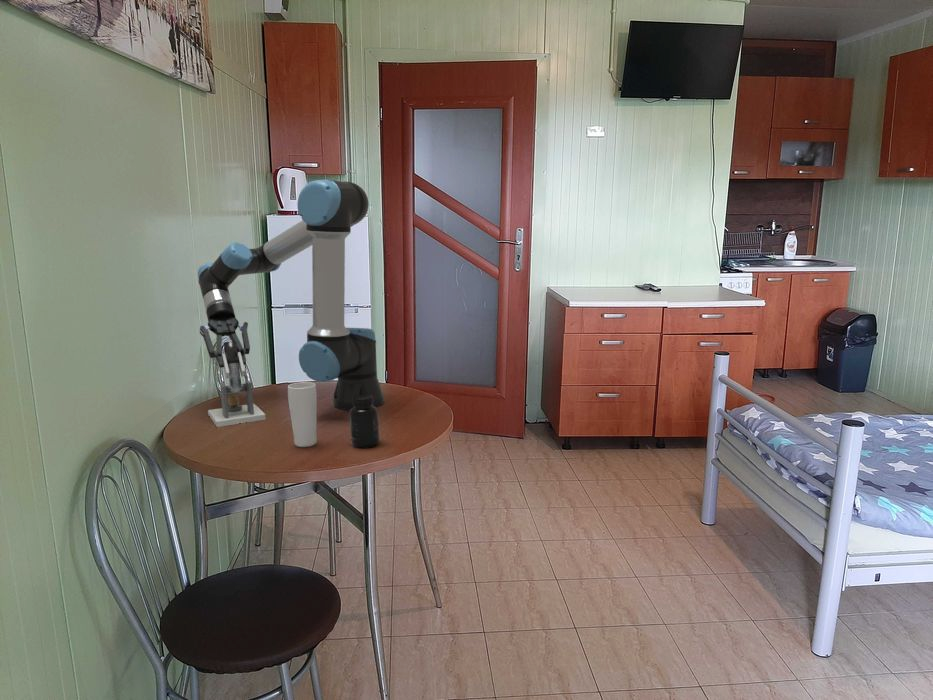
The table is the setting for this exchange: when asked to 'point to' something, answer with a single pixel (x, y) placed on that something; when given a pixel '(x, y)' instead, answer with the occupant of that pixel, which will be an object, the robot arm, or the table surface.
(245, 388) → the lever
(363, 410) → the supplement bottle
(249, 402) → the nutcracker base
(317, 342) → the robot arm
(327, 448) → the table surface
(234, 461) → the table surface
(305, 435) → the drinking glass
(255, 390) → the table surface
